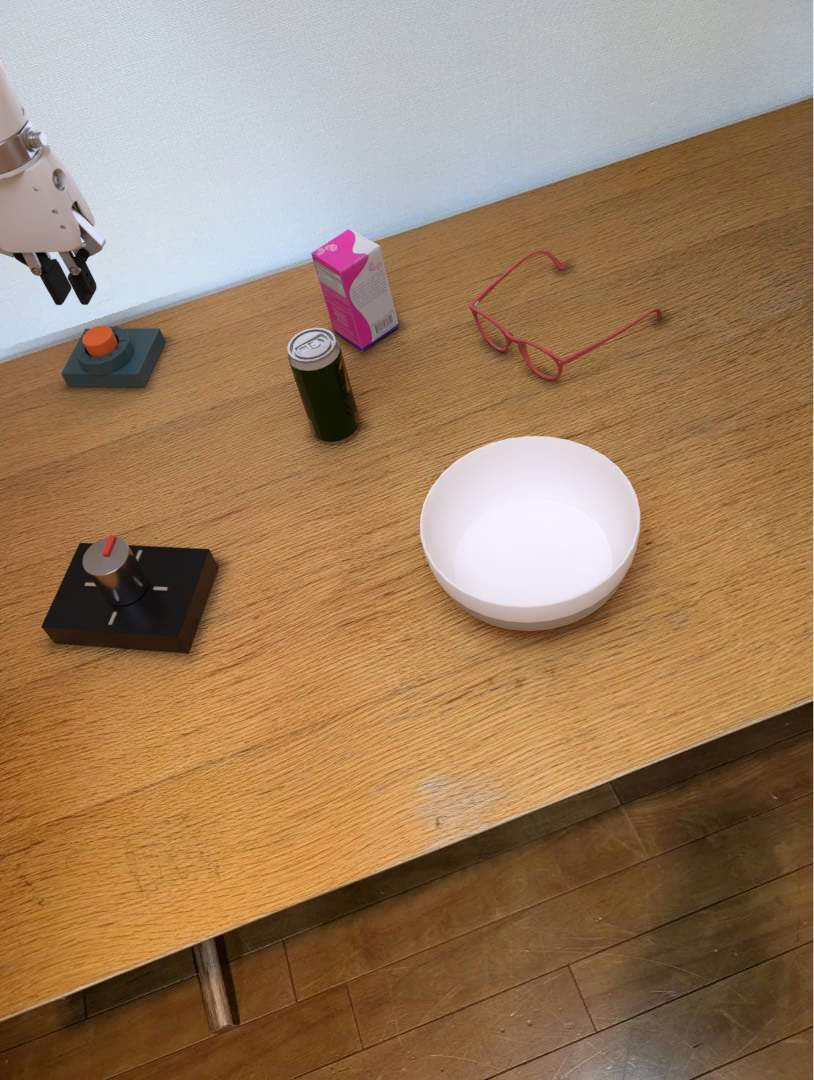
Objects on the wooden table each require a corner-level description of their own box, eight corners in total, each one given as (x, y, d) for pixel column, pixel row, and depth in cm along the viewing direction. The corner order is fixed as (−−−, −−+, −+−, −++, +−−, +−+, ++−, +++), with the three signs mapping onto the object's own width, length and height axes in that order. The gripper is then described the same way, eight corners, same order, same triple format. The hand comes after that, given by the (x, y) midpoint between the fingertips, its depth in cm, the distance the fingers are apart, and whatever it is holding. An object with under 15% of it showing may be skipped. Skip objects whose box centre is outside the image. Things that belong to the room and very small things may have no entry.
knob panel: (54, 643, 95) (39, 625, 93) (91, 560, 101) (78, 541, 99) (188, 653, 92) (177, 635, 90) (218, 566, 98) (209, 547, 96)
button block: (67, 388, 119) (53, 363, 116) (92, 341, 123) (79, 316, 120) (143, 389, 116) (131, 363, 113) (165, 341, 121) (154, 316, 118)
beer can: (324, 454, 105) (296, 370, 96) (305, 424, 109) (277, 340, 99) (369, 433, 106) (346, 348, 97) (349, 404, 109) (325, 319, 100)
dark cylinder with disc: (139, 607, 93) (118, 574, 88) (97, 605, 94) (73, 572, 89) (154, 569, 95) (134, 535, 91) (112, 567, 96) (90, 533, 92)
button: (83, 357, 116) (77, 346, 115) (94, 336, 118) (88, 325, 117) (111, 357, 115) (105, 345, 114) (122, 336, 117) (116, 325, 116)
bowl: (483, 476, 100) (475, 415, 93) (666, 527, 92) (671, 465, 86) (397, 622, 91) (380, 567, 84) (593, 693, 83) (592, 638, 76)
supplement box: (369, 306, 119) (350, 225, 110) (400, 327, 116) (383, 245, 107) (331, 331, 117) (309, 251, 108) (362, 353, 114) (341, 272, 105)
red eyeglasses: (458, 334, 114) (453, 299, 110) (556, 263, 119) (554, 228, 115) (570, 403, 104) (569, 367, 100) (671, 323, 109) (673, 287, 105)
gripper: (87, 120, 97) (153, 274, 111) (-56, 129, 100) (26, 276, 115) (58, 164, 92) (131, 318, 107) (-91, 171, 96) (-1, 319, 110)
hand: (76, 295), depth 111 cm, fingers closed
